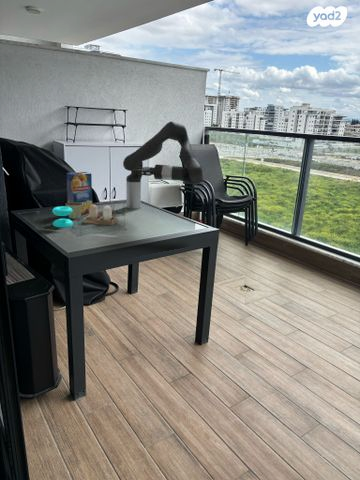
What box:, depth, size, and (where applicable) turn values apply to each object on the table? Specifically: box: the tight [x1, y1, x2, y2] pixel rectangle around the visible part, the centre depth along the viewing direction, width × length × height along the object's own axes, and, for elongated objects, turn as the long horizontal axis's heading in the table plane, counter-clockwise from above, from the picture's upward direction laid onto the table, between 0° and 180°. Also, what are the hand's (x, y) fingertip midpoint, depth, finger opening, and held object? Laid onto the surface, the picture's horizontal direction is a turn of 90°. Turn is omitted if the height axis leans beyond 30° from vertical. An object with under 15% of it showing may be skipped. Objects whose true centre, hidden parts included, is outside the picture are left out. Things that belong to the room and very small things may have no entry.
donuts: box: [52, 205, 74, 228], centre depth 193 cm, size 10×10×10 cm
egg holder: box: [82, 214, 118, 226], centre depth 202 cm, size 9×17×3 cm, turn 80°
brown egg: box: [88, 203, 99, 220], centre depth 201 cm, size 5×5×9 cm
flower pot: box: [65, 202, 83, 220], centre depth 208 cm, size 9×9×9 cm
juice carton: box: [66, 171, 93, 215], centre depth 217 cm, size 12×8×24 cm, turn 132°
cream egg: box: [102, 205, 113, 221], centre depth 200 cm, size 5×5×9 cm
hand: (133, 170), depth 193 cm, fingers open, 8 cm apart
